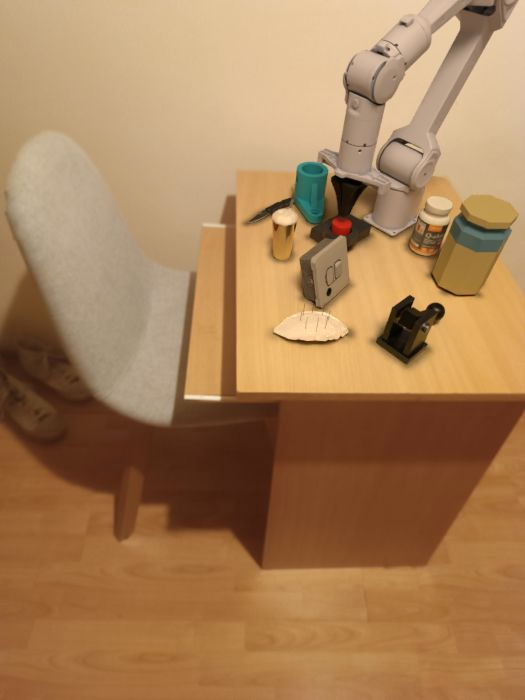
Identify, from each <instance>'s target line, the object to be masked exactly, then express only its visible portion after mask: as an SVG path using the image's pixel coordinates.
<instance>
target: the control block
mask: <svg viewBox="0 0 525 700" xmlns="http://www.w3.org/2000/svg"><path fill="white" fill-rule="evenodd" d="M338 217H342V216H340V215H338V214H335V215H334V216H331V217H330V218H328V219H326V220H324V221H321V222H320V223H317V224H316V225H314V226H313V227H311V228H310V235H309V238H310V239H312V240H314V241H315V242H316V243H317V244H318V243H319V242H321V241H322V240H323V239H324V238H327V239H336V238H338V237H339V236H340V235H336V234H334V233H333V232H332V231H331V226H332V221H333V219H335V218H338ZM343 218H347V219H349V220H350V221H351V223H352V225H351V230H350V233H349V234H348V235H342V236H344V237H346V242H347V249H348V248H349V247H351V246H353V245H355V244H357V243H358V242H360V241H362V240H363V239H365V238H367V237H368V236H370V234H371V229H372V225H371V224H369V223H367V222H365V221H364V220H363V219H360V218H358V217H356V216H355V215H353V214H352V213H350V214H349V215H348V216H346V217H343Z"/></svg>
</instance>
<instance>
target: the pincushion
mask: <svg viewBox="0 0 525 700" xmlns="http://www.w3.org/2000/svg"><path fill="white" fill-rule="evenodd" d="M314 300H315V298H314ZM312 304H313V305H312V307H314V306H315V303H312ZM325 306H326V305H325V303H324V307H325ZM305 307H306V304H303V308H305ZM324 310H325V308H323V309H322V311H314V309H312V310H307V311H305V310H303V311H300V312H297V313H294V314H292V315H289V316H287V317H286V318H284V319H283V320H282V321H281V322H280V323H279V324H278V325H276V326H275V328H274V329H273V334H276V335H279V336H281V337H283V338H285V339H288V340H294V341H297V340H300V341H305V342H309V341H312V342H315V341H316V342H327V341H328V340H329V341H333V340H336V341H337V340H338V339H340V337H345V336H346V335H348V333H350V332H349V329H348V327H347V325H346V324H345V323H344V322H341V320H339V319H338V318H337V317H335V316H333V315H332V314H331V312H329V313H328V312H324Z"/></svg>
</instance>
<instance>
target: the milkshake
mask: <svg viewBox="0 0 525 700" xmlns="http://www.w3.org/2000/svg"><path fill="white" fill-rule="evenodd" d="M293 201H294V198H293V199H291V203H290V205H289V207H288V208H279V209H278V210H276V211H274V212H273V215H271V224H272V255H273V258H275V259H277V260H279V261H285V260H288V259H289V258H290V257H291V254H292V249H293V244H294V239H295V233H296V229H297V225H298V220H299V217H298V214H297V212H295V211H294V210H292V209H293V206H294V203H293Z"/></svg>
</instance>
